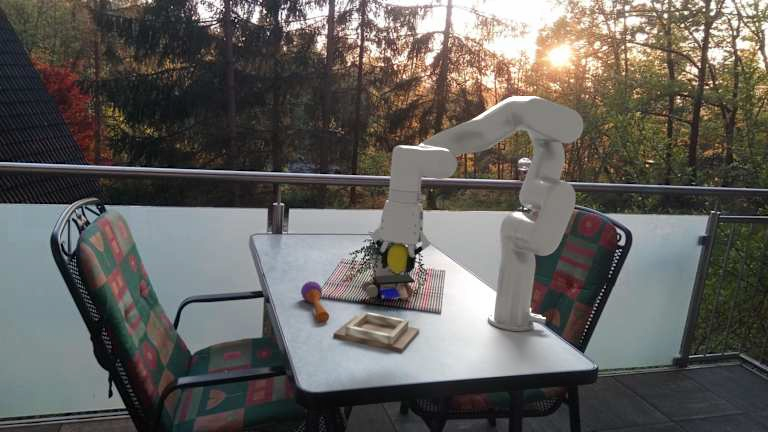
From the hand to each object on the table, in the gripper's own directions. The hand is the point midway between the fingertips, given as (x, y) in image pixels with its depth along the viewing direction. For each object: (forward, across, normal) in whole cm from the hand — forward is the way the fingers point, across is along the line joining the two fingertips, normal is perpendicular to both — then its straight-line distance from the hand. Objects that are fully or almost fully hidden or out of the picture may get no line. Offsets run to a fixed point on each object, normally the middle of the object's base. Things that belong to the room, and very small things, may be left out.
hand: (397, 268), depth 136 cm
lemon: (+1, 0, 0) cm, 1 cm away
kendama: (+19, +25, -8) cm, 32 cm away
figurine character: (+18, +10, -27) cm, 34 cm away
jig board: (+18, +4, 0) cm, 18 cm away
